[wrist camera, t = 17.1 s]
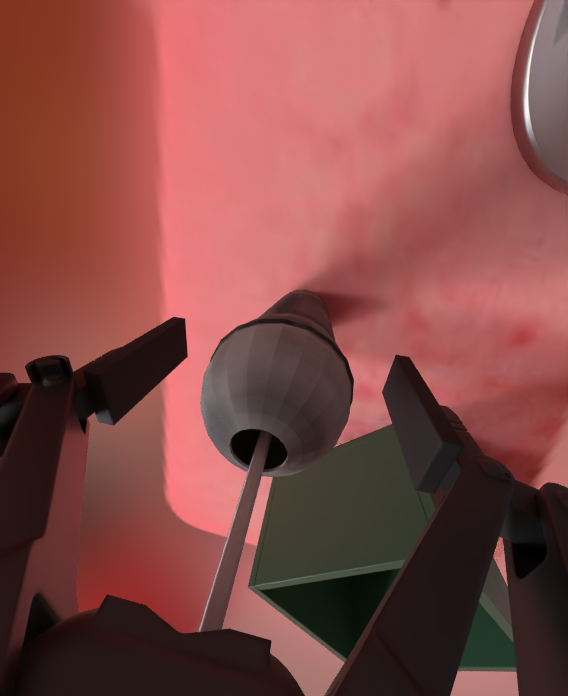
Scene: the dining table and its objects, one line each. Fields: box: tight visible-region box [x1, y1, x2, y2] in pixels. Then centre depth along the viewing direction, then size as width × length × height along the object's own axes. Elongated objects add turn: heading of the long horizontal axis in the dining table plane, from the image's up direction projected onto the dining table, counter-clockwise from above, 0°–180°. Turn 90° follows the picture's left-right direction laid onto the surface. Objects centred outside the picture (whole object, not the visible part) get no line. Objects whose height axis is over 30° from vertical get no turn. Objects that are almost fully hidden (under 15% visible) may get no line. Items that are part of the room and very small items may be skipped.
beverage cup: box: [198, 290, 354, 632], centre depth 14 cm, size 7×7×20 cm
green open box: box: [248, 424, 517, 672], centre depth 26 cm, size 18×18×12 cm
